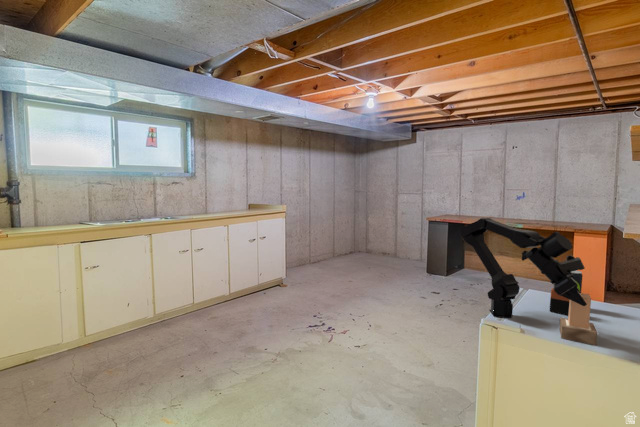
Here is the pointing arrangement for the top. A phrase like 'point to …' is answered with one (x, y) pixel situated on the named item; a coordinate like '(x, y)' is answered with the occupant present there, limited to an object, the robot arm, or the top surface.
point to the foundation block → (578, 332)
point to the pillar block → (580, 312)
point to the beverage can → (577, 278)
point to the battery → (559, 303)
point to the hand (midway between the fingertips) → (583, 301)
